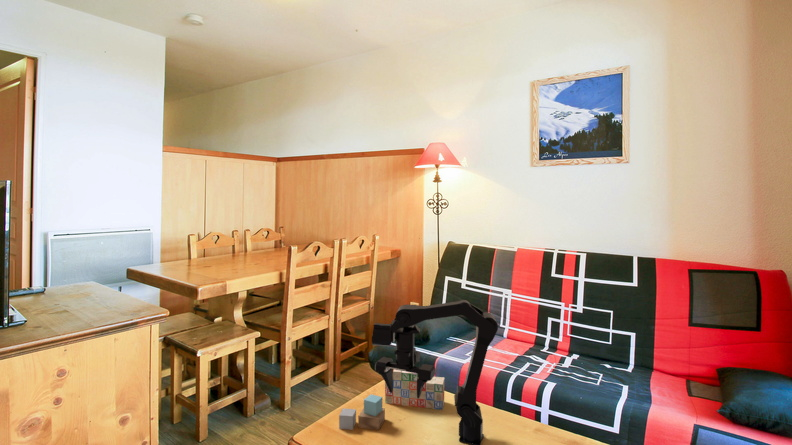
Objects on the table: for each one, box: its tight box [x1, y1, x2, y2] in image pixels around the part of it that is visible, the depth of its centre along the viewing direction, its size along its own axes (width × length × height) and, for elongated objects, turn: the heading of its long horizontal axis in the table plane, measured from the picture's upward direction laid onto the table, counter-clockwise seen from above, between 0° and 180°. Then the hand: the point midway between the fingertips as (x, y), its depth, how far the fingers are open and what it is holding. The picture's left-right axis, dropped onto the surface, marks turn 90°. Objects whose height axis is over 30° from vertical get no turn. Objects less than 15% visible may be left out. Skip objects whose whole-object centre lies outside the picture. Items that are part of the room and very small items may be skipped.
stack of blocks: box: [384, 369, 445, 410], centre depth 146 cm, size 21×6×12 cm, turn 77°
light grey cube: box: [338, 408, 357, 431], centre depth 131 cm, size 4×4×4 cm
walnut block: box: [357, 407, 386, 431], centre depth 132 cm, size 7×7×4 cm
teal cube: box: [363, 393, 383, 416], centre depth 132 cm, size 4×4×4 cm
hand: (404, 395), depth 125 cm, fingers open, 9 cm apart
